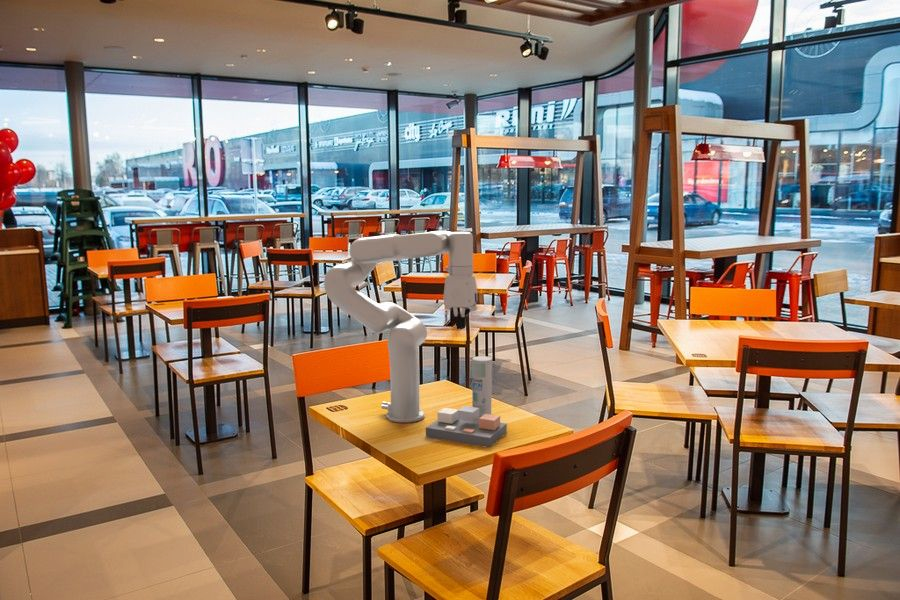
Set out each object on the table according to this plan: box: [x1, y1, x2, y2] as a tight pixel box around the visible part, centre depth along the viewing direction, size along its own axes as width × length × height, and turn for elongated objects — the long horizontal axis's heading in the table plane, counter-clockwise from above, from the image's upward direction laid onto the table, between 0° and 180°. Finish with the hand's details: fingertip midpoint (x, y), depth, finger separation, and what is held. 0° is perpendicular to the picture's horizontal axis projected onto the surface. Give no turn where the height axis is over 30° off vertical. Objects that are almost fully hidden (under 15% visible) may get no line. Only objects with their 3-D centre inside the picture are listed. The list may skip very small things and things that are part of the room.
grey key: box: [457, 405, 479, 422], centre depth 213 cm, size 5×5×3 cm
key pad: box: [425, 419, 508, 448], centre depth 212 cm, size 21×14×4 cm, turn 64°
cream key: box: [436, 407, 459, 424], centre depth 216 cm, size 5×5×3 cm
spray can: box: [471, 355, 493, 419], centre depth 228 cm, size 6×6×20 cm
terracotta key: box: [479, 413, 501, 430], centre depth 210 cm, size 5×5×3 cm
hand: (460, 328), depth 219 cm, fingers closed
